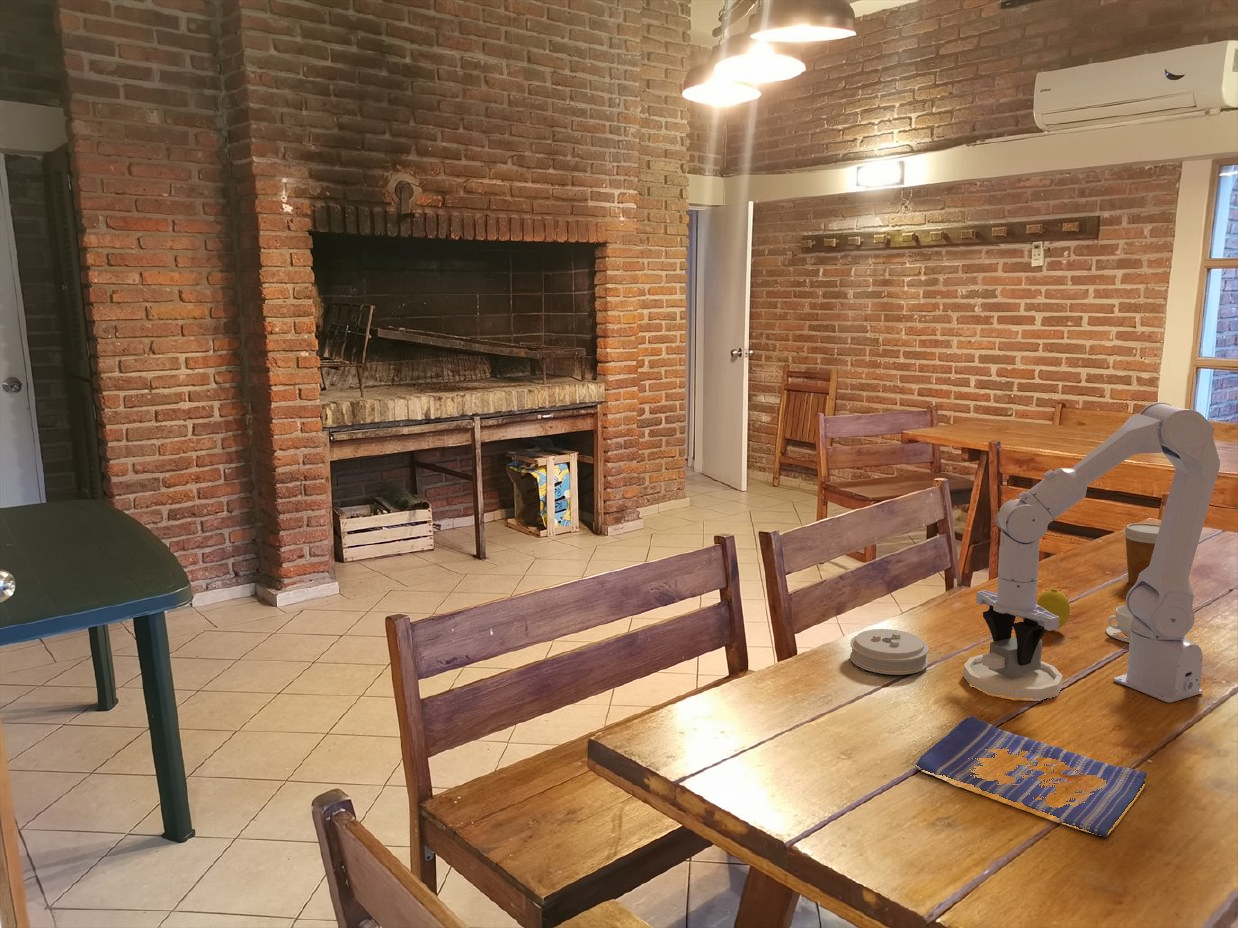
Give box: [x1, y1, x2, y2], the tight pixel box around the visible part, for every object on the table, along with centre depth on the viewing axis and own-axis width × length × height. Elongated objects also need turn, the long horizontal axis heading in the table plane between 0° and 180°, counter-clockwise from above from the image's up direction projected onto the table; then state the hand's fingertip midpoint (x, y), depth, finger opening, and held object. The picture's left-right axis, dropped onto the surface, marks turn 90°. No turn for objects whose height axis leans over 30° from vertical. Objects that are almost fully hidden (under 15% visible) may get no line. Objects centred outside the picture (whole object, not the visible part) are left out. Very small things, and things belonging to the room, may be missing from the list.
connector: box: [982, 636, 1043, 677], centre depth 145 cm, size 4×10×4 cm, turn 115°
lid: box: [849, 628, 930, 676], centre depth 154 cm, size 13×13×5 cm
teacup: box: [1105, 605, 1133, 643], centre depth 163 cm, size 10×10×5 cm
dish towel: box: [915, 715, 1148, 838], centre depth 118 cm, size 17×24×3 cm
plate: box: [963, 652, 1064, 699], centre depth 146 cm, size 14×14×2 cm
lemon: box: [1036, 588, 1071, 632], centre depth 167 cm, size 6×6×8 cm
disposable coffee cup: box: [1122, 522, 1161, 586], centre depth 191 cm, size 10×10×12 cm
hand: (1013, 659), depth 145 cm, fingers closed on connector, 4 cm apart
